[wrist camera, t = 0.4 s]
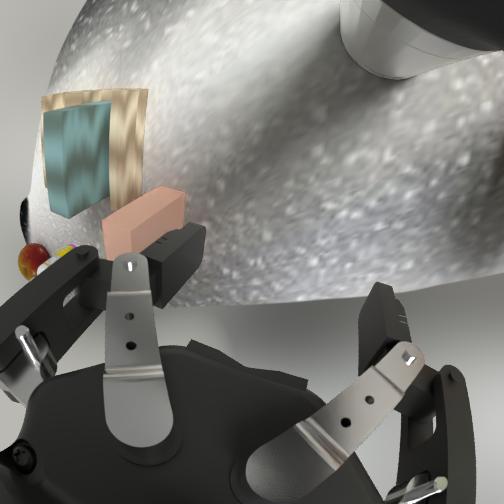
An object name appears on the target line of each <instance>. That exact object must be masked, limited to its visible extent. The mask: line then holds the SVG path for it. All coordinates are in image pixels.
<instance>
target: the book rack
mask: <svg viewBox="0 0 504 504" xmlns="http://www.w3.org/2000/svg"><path fill="white" fill-rule="evenodd" d="M147 96H148V89H101V90H84V91H73V92H64V93H58V94H53V95H48V96H43V97H42V101H41V142H42V160H43V172H44V181H45V187H46V188H47V189H48V196H49V203H50V209H51V211H52V212H54V213H56V214H59V215H61V216H63V217H65V218H68V219H70V218H72V217H73V216H75V215H77V214H78V213H80V212H82V211H83V210H85V209H87V208H88V207H90V206H92V205H94V204H95V203H97V202H99V201H101V200H102V199H104V198H106V197H108V196H110V206H111V210H113V211H117V210H119V209H121V208H122V207H124V206H126V205H127V204H129V203H131V202H132V201H134V200H136V199H137V198H139V197H141V196H142V159H143V140H144V126H145V115H146V105H147Z"/></svg>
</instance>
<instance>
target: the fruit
mask: <svg viewBox="0 0 504 504" xmlns="http://www.w3.org/2000/svg"><path fill="white" fill-rule="evenodd" d="M48 259H50V257H49V254H48V252H47V251H46V249H45V248H44V247H43V246H42V245H40V244H36V243H31V244H28V245H26V246H25V247H24V248H23V249H22V250H21V252H20V254H19V258H18V266H19V269H20V271H21V273H22V275H23V276H24V277H25V278H26V279H27V280H29V281H30V280H31V279H32V278H34V277H36V276H37V270H38V268H39V266H40V265H42V264H43V263H44V262H46V261H47V260H48Z"/></svg>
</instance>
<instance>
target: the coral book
mask: <svg viewBox="0 0 504 504" xmlns="http://www.w3.org/2000/svg"><path fill="white" fill-rule="evenodd" d="M185 200H186V193H185V192H182V191H178V190H174V189H170V188H167V187H163V186H158V187H157V188H155V189H153V190H151V191H149V192H148V193H146V194H144V195H142V196H141V197H139V198H137V199H136V200H134V201H132V202H131V203H129V204H127V205H126V206H124V207H122V208H121V209H119V210H117V211H116V212H114V213H113V214H111V215H109V216H108V217H106V218H105V219H103V220H102V228H103V237H104V245H105V252H106V259H107V260H111V261H114V259H115V258H116V257H117V256H119V255H121V254H124V253H140V252H141V251H143V250H144V249H145V248H147V247H148V246H149V245H151V244H152V243H153V242H155V241H156V240H157V239H158V238H161V236H162V235H164V234H165V233H167V232H168V231H172V230H175V229H179V230H180V229H181V228H182V227H184V213H185Z"/></svg>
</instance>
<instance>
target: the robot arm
mask: <svg viewBox="0 0 504 504" xmlns="http://www.w3.org/2000/svg"><path fill="white" fill-rule="evenodd" d="M340 31H341V38H342V42H343V45H344V47H345V49H346V51H347V52H348V54H349V55H350V56H351V57H352V59H353V60H354V61H355V62H356V63H357V64H358V65H360V66H361V67H362V68H364V69H365V70H367V71H368V72H370V73H372V74H374V75H376V76H379V77H382V78H386V79H394V80H399V79H407V78H410V77H412V76H415V75H418V74H422V73H425V72H428V71H430V70H433V69H436V68H439V67H443V66H446V65H449V64H452V63H455V62H459V61H462V60H466V59H469V58H472V57H476V56H480V55H484V54H488V53H492V52H496V51H500V50H503V51H504V0H340ZM205 235H206V228H205V227H204V226H201V225H198V224H195V223H192V222H189V223H188V224H186V225H185V226H184V227H182V228H181V229H180V230H179V229H175V230H172V231H168V232H167V233H165V234H164V235H162V236H161V238H158V239H157V240H156V241H155V242H153V243H152V244H151V245H149V246H148V247H147V248H145V249H144V250H143V251H141V252H140V253H124V254H121V255H119V256H117V257H116V258H115V259H114V261H111V260H105V259H99V255H98V250H97V249H96V248H95V247H93V246H89V245H82V246H78V247H75V248H73V249H72V250H70V251H69V252H67V253H66V254H65V255H63V256H62V257H61V258H59V259H58V260H57V261H55V262H54V263H53V264H51V265H50V266H49V267H47V268H46V269H45V270H44V271H42V272H41V273H40V274H38V275H37V276H36V277H35V278H33V279H32V280H31V281H30V282H29V283H27V284H26V285H25V286H24V287H23V288H21V289H20V290H19V291H18V292H17V293H15V294H14V295H13V296H12V297H11V298H10V299H9V300H7V301H6V302H5V303H4V304H3V305H2V306H1V307H0V388H1V389H2V390H3V391H4V392H5V394H6V395H7V396H8V397H9V398H10V399H11V400H12V401H14V402H17V403H21V404H22V405H23V406H24V407H25V408H26V414H25V418H24V422H23V425H22V429H21V431H20V433H19V436H18V438H17V439H16V441H15V442H14V443H13V444H12V445H11V446H9V447H8V448H6V449H5V450H3V451H1V452H0V504H475V501H476V457H475V442H474V432H473V423H472V416H471V410H470V403H469V398H468V392H467V387H466V382H465V378H464V376H463V375H462V373H461V372H460V371H459V370H458V369H457V368H456V367H454V366H452V365H445V366H443V368H441V370H440V371H439V372H438V371H436V370H434V369H432V368H431V367H429V366H427V365H425V358H424V355H423V353H422V352H421V350H420V349H419V348H418V347H417V346H415V345H414V344H412V341H411V336H410V331H409V327H408V324H407V318H406V314H405V310H404V307H403V306H402V304H401V303H400V301H399V300H397V299H395V296H394V292H393V288H392V286H389V285H386V284H383V283H380V282H376V283H375V284H374V286H373V288H372V290H371V292H370V293H369V295H368V297H367V299H366V301H365V303H364V305H363V307H362V309H361V311H360V314H359V319H358V329H359V367H358V376H360V377H359V378H358V379H357V380H356V381H354V382H353V383H352V384H351V385H350V386H349V387H347V388H346V389H345V390H344V391H342V392H341V393H340V394H339V395H338V396H336V397H335V398H334V399H333V400H331V401H330V402H329V403H327V404H326V403H325V402H324V401H323V400H322V399H321V398H319V397H318V396H317V395H316V394H314V393H313V392H311V391H310V390H308V389H306V388H307V382H308V380H307V379H304V378H300V377H297V376H293V375H290V374H286V373H283V372H280V371H273V370H263V369H255V368H248V367H245V366H243V365H242V364H240V363H238V362H237V361H235V360H234V359H232V358H230V357H229V356H227V355H226V354H224V353H222V352H221V351H219V350H217V349H214V348H212V347H209V346H207V345H204V344H202V343H199V342H197V341H194V340H192V339H191V341H190V342H189V344H188V345H187V347H185V346H175V345H172V346H171V345H169V346H160V347H158V341H157V335H156V328H155V321H154V313H153V305H154V306H156V307H159V308H161V309H163V308H164V307H165V306H166V304H167V303H168V302H169V301H170V300H171V299H172V298H173V296H174V295H175V294H176V293H177V292H178V291H179V289H180V288H181V287H182V286H183V285H184V284H185V283H186V281H187V280H188V279H189V278H190V277H191V276H192V275H193V274H194V272H195V271H196V270H197V269H198V268H199V266H200V264H201V262H202V258H203V251H204V243H205ZM74 289H75V292H76V296H74V297H73V298H72V299H71V300H70V301H69V302H68V303H67V304H66V305H65V306H64V307H63V301H64V299H65V297H66V296H67V295H68V294H69V293H70V292H71V291H72V290H74ZM103 310H105V311H106V323H105V363H102V364H99V365H95V366H91V367H88V368H84V369H80V370H76V371H72V372H69V373H65V374H61V375H56V376H55V374H56V372H57V362H58V361H59V360H60V359H61V358H62V356H63V355H64V354H65V353H66V352H67V351H68V350H69V348H70V347H71V346H72V345H73V344H74V343H75V341H76V340H77V339H78V338H79V337H80V336H81V335H82V333H83V332H84V331H85V330H86V329H87V328H88V327H89V326H90V325H91V324H92V322H93V321H94V320H95V319H96V318H97V317H98V316H99V315H100V314H101V312H102V311H103ZM393 409H394V410H396V411H398V412H400V413H401V437H400V438H401V439H400V452H399V463H398V473H397V481H396V486H394V487H393V488H392V489H391V490H390V491H389V492H388V494H387V497H386V500H385V501H383V499H382V497H381V495H380V494H379V492H378V490H377V489H376V487H375V485H374V484H373V482H372V480H371V479H370V477H369V475H368V474H367V472H366V470H365V468H364V467H363V465H362V463H361V462H360V460H359V458H358V456H357V455H356V453H355V450H356V449H357V448H358V447H359V446H360V445H361V444H362V443H363V442H364V441H365V440H366V439H367V438H368V437H369V436H370V435H371V434H372V433H373V432H374V431H375V429H376V428H377V427H378V426H379V425H380V424H381V423H382V422H383V420H384V419H385V418H386V417H387V416H388V415H389V414H390V412H391V411H392V410H393ZM435 416H436V429H435V432H434V434H433V417H435Z"/></svg>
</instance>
